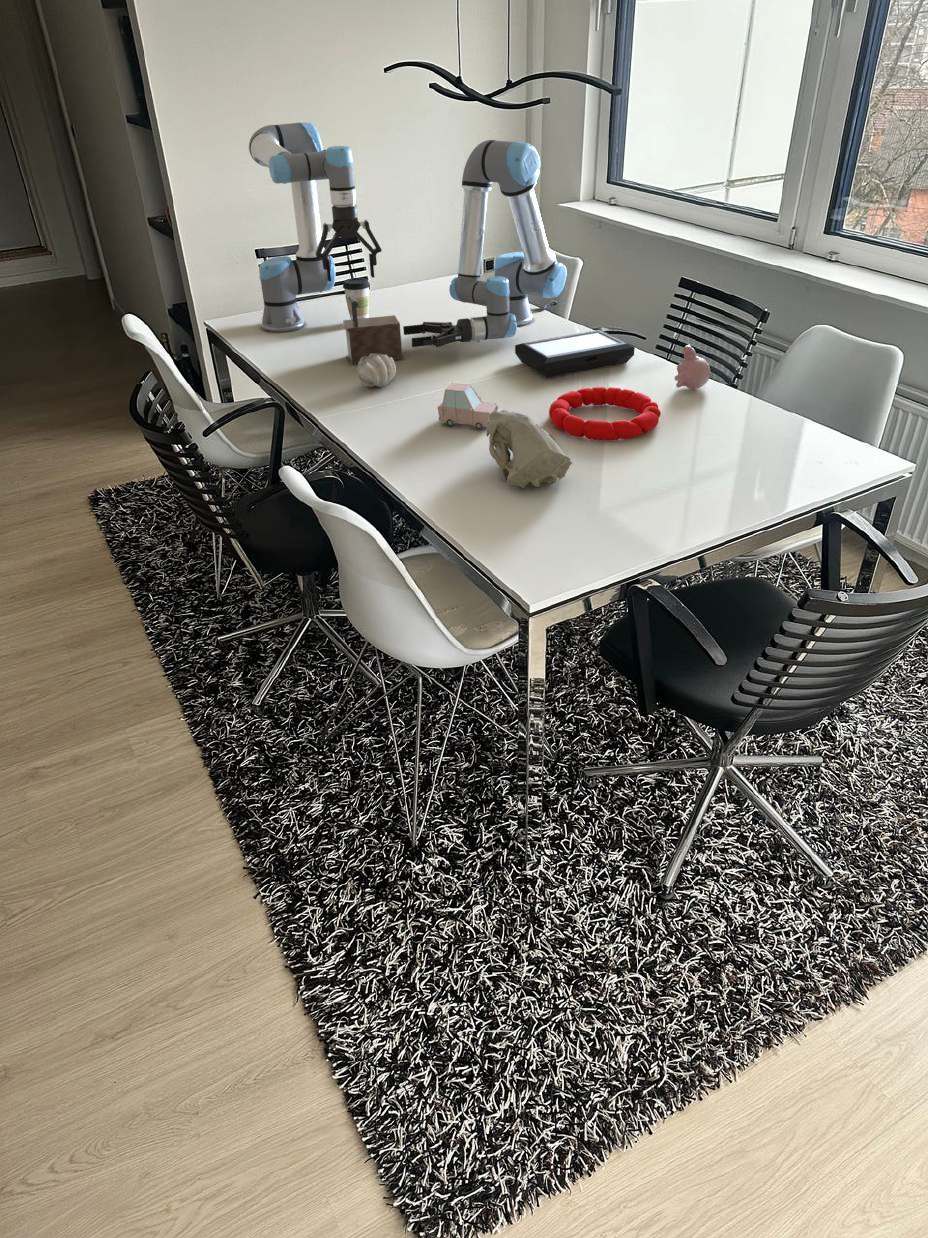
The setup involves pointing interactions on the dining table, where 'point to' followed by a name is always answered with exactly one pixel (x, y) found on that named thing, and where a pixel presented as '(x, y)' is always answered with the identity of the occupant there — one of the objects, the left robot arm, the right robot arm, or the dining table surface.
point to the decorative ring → (604, 428)
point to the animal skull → (525, 450)
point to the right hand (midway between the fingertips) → (407, 336)
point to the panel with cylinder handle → (368, 320)
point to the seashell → (376, 369)
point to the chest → (374, 343)
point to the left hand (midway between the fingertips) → (351, 278)
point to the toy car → (465, 406)
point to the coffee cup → (358, 296)
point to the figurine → (692, 370)
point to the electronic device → (574, 353)
